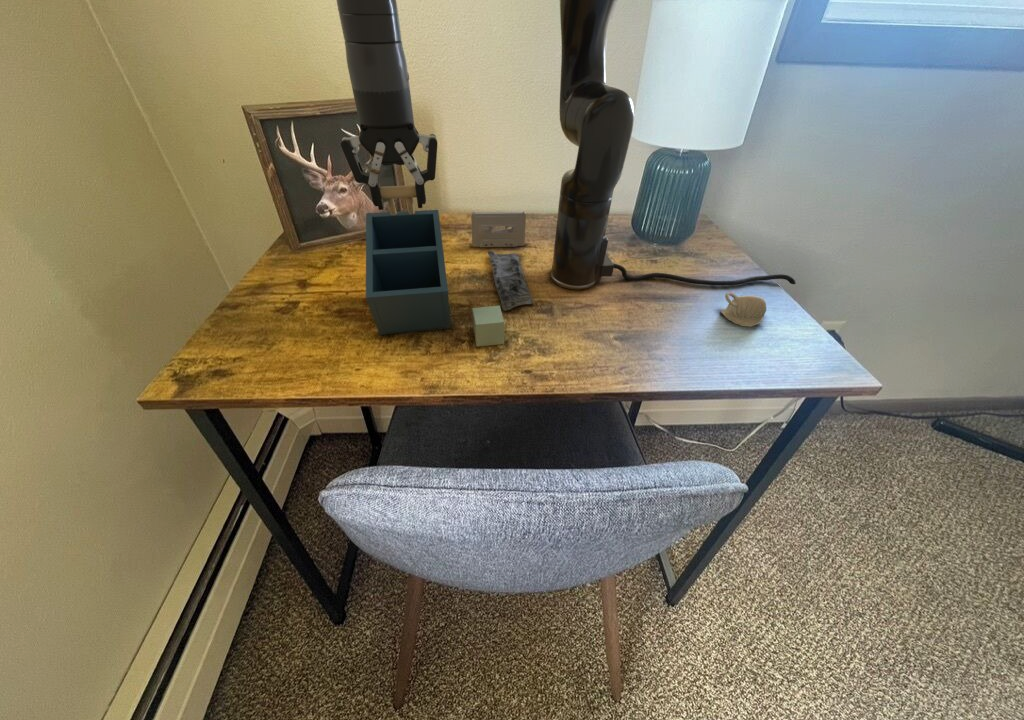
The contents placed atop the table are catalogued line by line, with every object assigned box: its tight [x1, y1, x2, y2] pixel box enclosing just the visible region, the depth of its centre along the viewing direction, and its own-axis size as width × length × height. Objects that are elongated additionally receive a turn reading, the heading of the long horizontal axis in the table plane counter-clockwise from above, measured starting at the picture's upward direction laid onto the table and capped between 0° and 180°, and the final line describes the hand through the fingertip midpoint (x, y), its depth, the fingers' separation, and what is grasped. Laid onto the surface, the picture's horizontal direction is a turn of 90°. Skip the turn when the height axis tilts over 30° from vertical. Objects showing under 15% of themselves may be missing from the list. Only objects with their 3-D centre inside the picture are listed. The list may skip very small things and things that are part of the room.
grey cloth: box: [486, 250, 535, 311], centre depth 81 cm, size 21×7×2 cm, turn 8°
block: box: [471, 305, 505, 348], centre depth 67 cm, size 5×5×5 cm
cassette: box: [470, 211, 527, 248], centre depth 90 cm, size 12×2×8 cm, turn 95°
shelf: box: [365, 184, 452, 336], centre depth 66 cm, size 18×12×15 cm, turn 11°
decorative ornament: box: [720, 291, 767, 328], centre depth 72 cm, size 4×8×5 cm, turn 78°
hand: (401, 206), depth 66 cm, fingers closed on shelf, 5 cm apart
